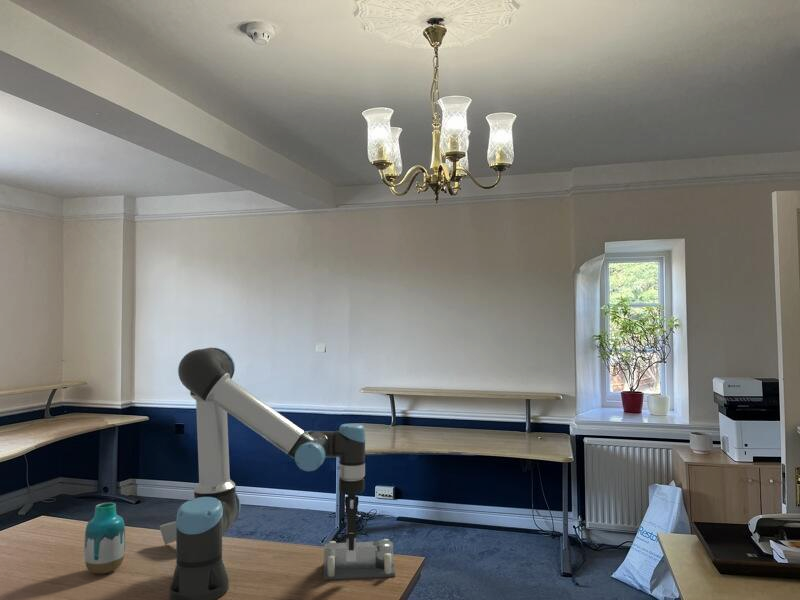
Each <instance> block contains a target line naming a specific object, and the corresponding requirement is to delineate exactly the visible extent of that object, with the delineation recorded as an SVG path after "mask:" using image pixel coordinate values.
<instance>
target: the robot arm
mask: <svg viewBox="0 0 800 600" xmlns="http://www.w3.org/2000/svg"><path fill="white" fill-rule="evenodd" d="M177 368H178V369H177V373H178V378H179V380H180V382H181V384H182V385H183V386H184V387H185V388H186V389H187V390H188V391H189V392H190V394H189V395H190V397H192V398H193V399H194V400H195V402H196V403H195V405H196V407H195V408H196V430H197V433H196V435H197V453H198V454H197V459H198V484H197V485H196V486H195V488H194V489H193V498H192V499H191V500H187V501H185V502H184V503H183V504H181V505H180V506H179V508H178V509H177V513H176V519H175V521H176V541H175V542H176V543H175V545H176V550H175V551H176V552H175V553H176V562H175V563H176V565H175V569H174V570H173V571H174V572H173V576H172V578H171V581H170V583H169V588H168V597H169V600H217V599H219V598H221V597H222V596H224V595H225V594H226V593H227V592H228V591H229V588H230V587H229V585H230V584H229V582H230V580H229V576H228V573H227V570H226V567H225V563H224V561H223V536H224V535H225V534H226V533H227V531H228V530H230V528H231V527H232V526H233V525H235V523H236V521H237V519H238V517H239V515H240V512H241V499H240V497H239V495H238V493H236V491H237V490H236V483H235V482H234V481H233V480H232V479H231V477H230V474H231V473H230V453H229V452H230V451H229V428H228V425H229V424H228V414H229V415H231V416H232V417H234V418H235V419H237V420H238V421H239V422H241V423H242V424H244V425H245V426H246V427H248V428H249V429H251V430H252V431H253V432H255V433H256V434H258V435H260V436H261V437H262V438H263V439H264V440H265V441H267V442H269V443H271V444H272V445H273V446H274V447H276V448H278V449H279V450H281V451H282V452H284V453H285V454H287V455H288V456H290V458H291V459H294V461H295V464H296V465H297V467H298V468H299V469H300V470H302V471H304V472H313V471H315V470H318V468H320V467H321V466H322V465H323V463H324V462H325V460H326V458H339V461H338V463H339V466H337V467H336V469H337V470H338V471H339V474H338V475H339V479H338V492H340V493H341V494H344V495H347V496H344V506H345V515H346V516H347V517H346V535H343V537H344V539H346V542H345V543H346V561H356V542H357V520H359V515H358V513H359V512H358V510H359V509H358V506H359V496H358V495H359V494H361V493H363V492H364V491H366V490H365V487H366V480H365V478H364V477H365V476H366V429H365V427H364V425H362V424H360V423H343V424H341V425H340V426H339V429H338V430H336V431H331V430H329V431H328V430H326V431H325V430H306V431H305V430H304V429H302V428H301V427H299V426H298V425H296V423H293V422H292V421H291V420H290V419H288V418H287V417H286V416H284V415H282V414H281V413H280V412H278V411H277V410H276V409H274V408H273V407H271V406H270V405H268V404H267V403H266V402H264V401H262V400H261V399H260V398H258V397H257V396H255V395H253V394H252V393H251V392H249V391H248V390H246V389H245V388H244V387H242V386H241V385H239V384H238V383H236V382H235V381H234V380H233V379H232V378H233V377H234V374H235V371H236V365H235V361H234V358H233V357H232V355H231V354H230V353H229V352H227V351H226V350H224V349H222V348H219V347H206V348H201V349H200V348H199V349H195V350H190V351H189V352H188V353H186V354H185V355H184V356H183V357H182V359H181V360H180V362H179V364H178V367H177ZM357 494H358V495H357ZM356 495H357V496H356Z"/></svg>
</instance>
